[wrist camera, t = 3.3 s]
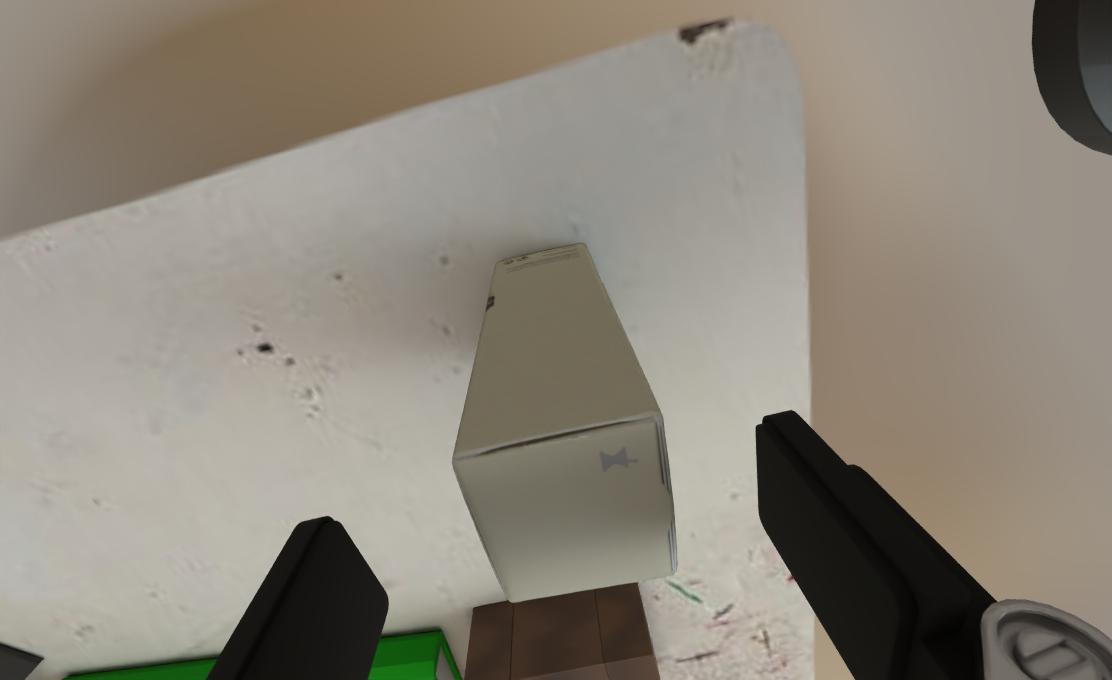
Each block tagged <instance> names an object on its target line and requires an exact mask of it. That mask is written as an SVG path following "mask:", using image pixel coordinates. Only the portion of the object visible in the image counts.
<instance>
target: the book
mask: <svg viewBox="0 0 1112 680" xmlns="http://www.w3.org/2000/svg"><path fill="white" fill-rule="evenodd" d="M217 659H218V658H215V659H206V660H198V661H190V662H182V663H174V664H165V665H157V666H149V667H141V668H133V669H124V670H116V671H108V672H100V673H92V674H83V675H75V676H68V677H66V678H64V679H62V680H206V678H207V676H208V674H209V673H210V671H211V669H212V668H213V666H214V664H215V663H216V661H217ZM368 680H462V678H461V676H460V673H459V671H458V668H457V666H456V663H455V661H454V659H453V656H452V654H451V651H450V649H449V646H448V644H447V641H446V639H445V636H444V634H443V631H436V632H428V633H420V634H411V635H403V636H395V637H387V638H380V640H379V643H378V647H377V650H376V654H375V657H374V660H373V664H372V667H371V671H370V674H369V678H368Z"/></svg>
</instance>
